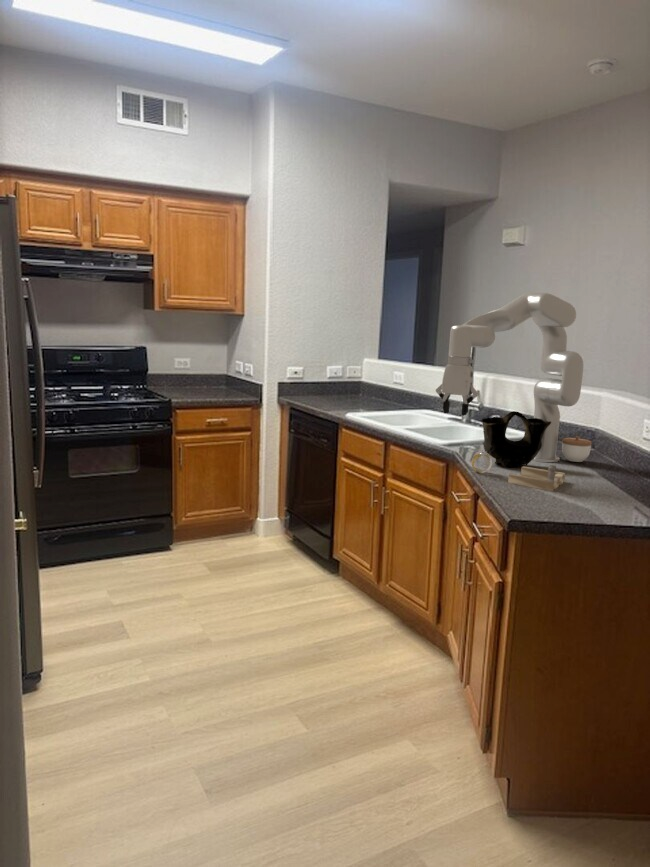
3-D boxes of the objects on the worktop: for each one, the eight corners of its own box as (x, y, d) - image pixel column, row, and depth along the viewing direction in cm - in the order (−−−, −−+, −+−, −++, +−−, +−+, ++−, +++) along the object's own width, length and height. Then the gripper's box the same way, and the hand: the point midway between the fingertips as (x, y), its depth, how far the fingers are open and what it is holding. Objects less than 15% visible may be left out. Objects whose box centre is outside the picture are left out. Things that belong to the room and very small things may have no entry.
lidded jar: (592, 464, 245) (595, 440, 243) (562, 461, 247) (565, 437, 245) (586, 458, 255) (589, 435, 254) (558, 456, 257) (560, 432, 256)
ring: (471, 474, 222) (473, 451, 220) (469, 471, 225) (471, 449, 223) (492, 474, 222) (494, 452, 220) (489, 472, 225) (491, 450, 223)
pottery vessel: (540, 463, 243) (545, 410, 240) (550, 470, 233) (556, 415, 229) (474, 460, 243) (478, 408, 239) (481, 467, 232) (486, 412, 228)
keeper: (522, 474, 224) (524, 452, 222) (564, 481, 216) (566, 458, 215) (506, 485, 209) (508, 460, 207) (550, 493, 201) (553, 468, 200)
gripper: (487, 363, 221) (482, 415, 224) (440, 359, 230) (436, 410, 233) (479, 364, 215) (475, 418, 218) (431, 360, 224) (427, 412, 227)
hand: (455, 413), depth 226 cm, fingers open, 5 cm apart
